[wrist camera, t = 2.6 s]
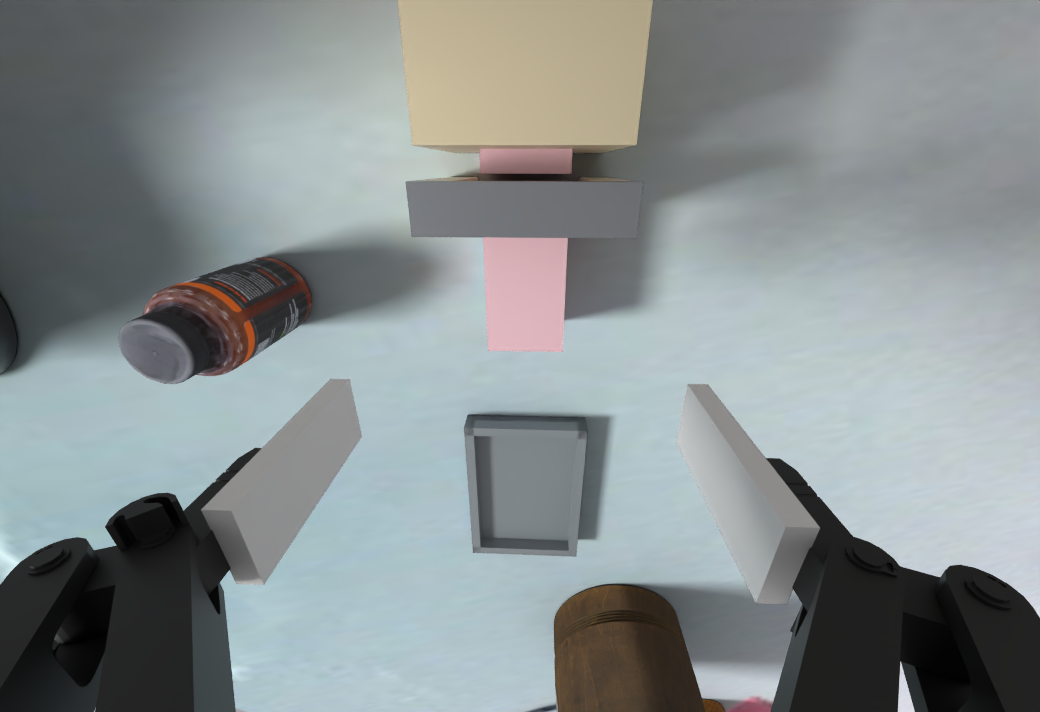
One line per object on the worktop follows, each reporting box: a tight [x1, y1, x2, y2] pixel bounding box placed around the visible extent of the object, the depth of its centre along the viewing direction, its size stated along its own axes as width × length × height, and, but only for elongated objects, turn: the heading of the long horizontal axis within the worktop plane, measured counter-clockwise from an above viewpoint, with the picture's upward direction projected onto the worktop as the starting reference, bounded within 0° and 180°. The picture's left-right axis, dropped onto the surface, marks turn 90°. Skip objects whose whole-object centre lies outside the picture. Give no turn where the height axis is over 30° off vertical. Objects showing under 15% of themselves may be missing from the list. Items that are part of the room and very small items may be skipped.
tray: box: [464, 415, 587, 556], centre depth 38 cm, size 11×16×2 cm
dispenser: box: [398, 0, 653, 239], centre depth 21 cm, size 11×12×10 cm
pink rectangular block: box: [483, 237, 568, 352], centre depth 27 cm, size 5×10×6 cm, turn 0°
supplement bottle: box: [119, 258, 312, 384], centre depth 27 cm, size 6×6×11 cm
